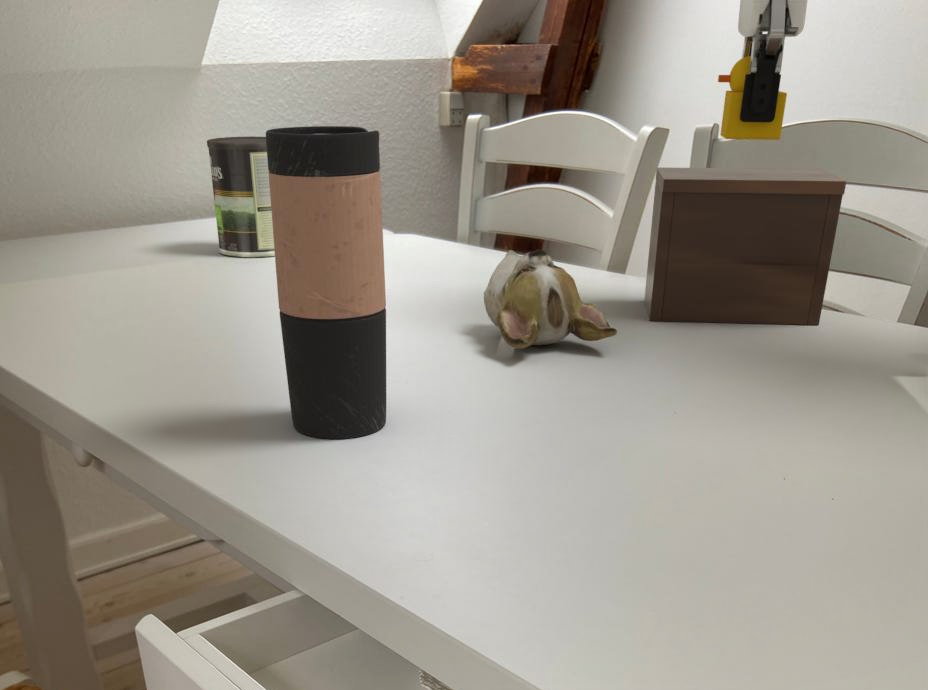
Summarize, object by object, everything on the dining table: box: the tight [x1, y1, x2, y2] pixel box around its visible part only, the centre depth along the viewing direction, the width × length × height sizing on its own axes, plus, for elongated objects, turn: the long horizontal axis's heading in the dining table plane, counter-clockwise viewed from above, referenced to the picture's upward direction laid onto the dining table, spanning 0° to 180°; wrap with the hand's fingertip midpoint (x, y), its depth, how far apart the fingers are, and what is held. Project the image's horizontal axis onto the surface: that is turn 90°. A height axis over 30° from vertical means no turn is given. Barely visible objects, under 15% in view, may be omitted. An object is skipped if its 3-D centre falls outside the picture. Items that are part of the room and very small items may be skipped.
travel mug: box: [265, 125, 387, 440], centre depth 71 cm, size 8×8×20 cm
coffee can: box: [206, 136, 275, 258], centre depth 137 cm, size 10×10×14 cm
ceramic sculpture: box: [483, 249, 618, 350], centre depth 95 cm, size 11×9×15 cm
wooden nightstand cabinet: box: [644, 167, 847, 326], centre depth 104 cm, size 11×17×14 cm, turn 83°
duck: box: [717, 56, 788, 141], centre depth 98 cm, size 6×4×7 cm
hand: (752, 117), depth 98 cm, fingers closed on duck, 4 cm apart
